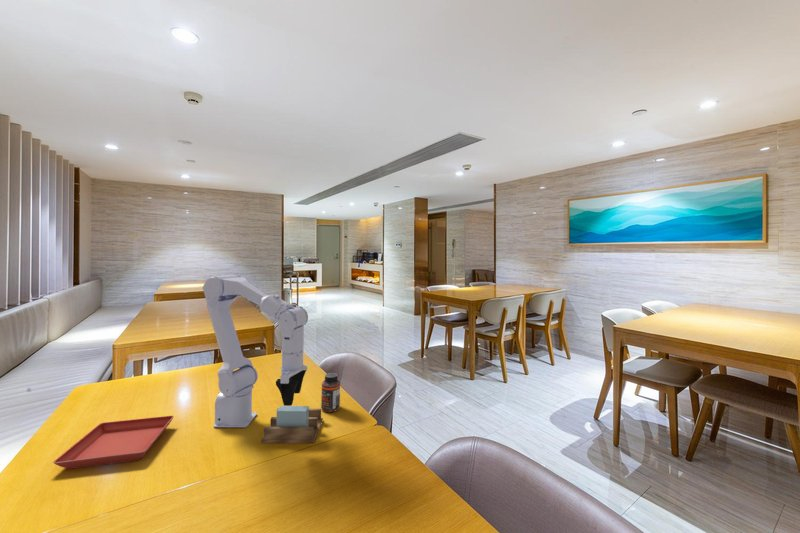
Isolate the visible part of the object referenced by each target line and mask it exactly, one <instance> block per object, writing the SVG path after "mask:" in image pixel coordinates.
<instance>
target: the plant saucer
mask: <svg viewBox="0 0 800 533" xmlns="http://www.w3.org/2000/svg"><path fill="white" fill-rule="evenodd" d="M174 417H175V416H174V415H166V416H165V415H163V416H156V417H144V418H135V419H126V420H115V421H106V422H101V423H99V424H97V425H96V426H95V427H94V428H93V429H91V430H90V431H89V432H88V433H86V434H85V435H84V436H82V437H81V438H80V439H79V440H78V441H77V442H75V443H74V444H73V445H71V446H70V447H69V448H68V449H67V450H65V451H64V452H63V453H62V454H61V455H59V456H58V457H57V458H56V459H55V460H53V462H52V463H53V464H54V465H55V466H59V467H61V468H64V469H67V470H68V469H69V470H71V469H78V468H86V467H95V466H101V465H102V466H103V465H109V464H110V465H111V464H119V463H126V462H127V463H129V462H134V461H140V460H141V459H142V458H143V457H144V456H145V455H146V453H147V452H148V451H149V450H150V449H151V447H152V446H153V445H154V444H155V442H156V441H157V440H158V439H159V437H160V436H161V435H162V434H163V432H164V431H165V430H166V429H167V428H168V427H169V425H170V423H171V422H172V420H173V419H174Z"/></svg>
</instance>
